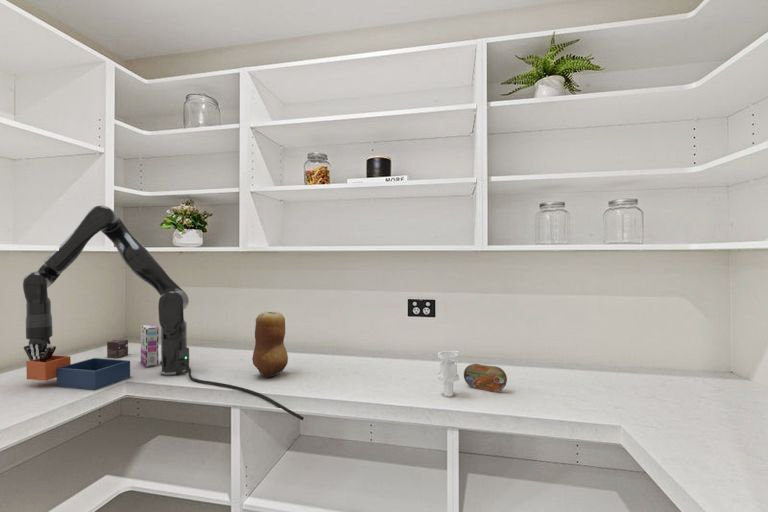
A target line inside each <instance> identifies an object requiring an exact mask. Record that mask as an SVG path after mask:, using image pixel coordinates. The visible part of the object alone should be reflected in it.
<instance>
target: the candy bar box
mask: <svg viewBox="0 0 768 512" xmlns="http://www.w3.org/2000/svg"><path fill="white" fill-rule="evenodd" d="M140 363H141V364H142V365H143V366H145V367H146V368H150V367H156V366H159V326H156V325H154V324H144V325H141V326H140Z"/></svg>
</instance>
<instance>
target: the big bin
mask: <svg viewBox="0 0 768 512" xmlns="http://www.w3.org/2000/svg"><path fill="white" fill-rule="evenodd" d="M127 379H131V360H129V359H127V360H126V359H116V358H103V357H102V358H101V357H92V358H89V359H85V360H82V361H78V362H75V363H71V364H70V365H66V366H63V367H59V368H57V378H56V387H61V388H72V389H79V390H80V389H82V390H91V391H97V390H99V389H101V388H105V387H108V386H111V385H113V384H116V383H120V382H122V381H125V380H127Z"/></svg>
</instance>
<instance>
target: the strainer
mask: <svg viewBox="0 0 768 512" xmlns="http://www.w3.org/2000/svg"><path fill="white" fill-rule="evenodd" d="M437 358H438V359H440V361H439V373H438V374H437V379H438V380H439V381H442V382H443V395H444V396H445V397H453V396H454V382H458V381H460V375H459V373H458V364H457V363H459V362H460V350H450V351H448V350H444V351H439V352H437Z"/></svg>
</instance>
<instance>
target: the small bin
mask: <svg viewBox="0 0 768 512" xmlns="http://www.w3.org/2000/svg"><path fill="white" fill-rule="evenodd" d="M25 364H26V366H25V367H26V380H31V381H42V382H43V381H44V382H47V381H50V380H54V379H57V368H59V367H63V366H66V365H70V364H72V362H71V355H57V354H55V355H54V354H53V355H52V357H51V358H50V359H49V360H46V362H38V359H34V360H30V359H29V360H26V362H25Z"/></svg>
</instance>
